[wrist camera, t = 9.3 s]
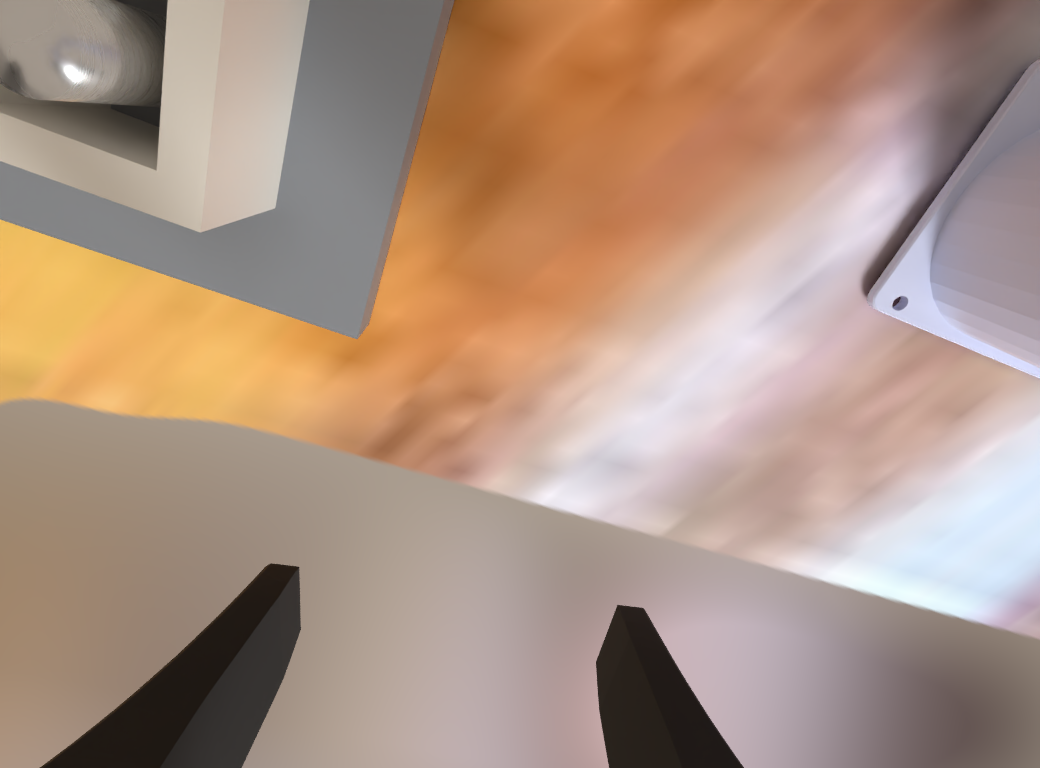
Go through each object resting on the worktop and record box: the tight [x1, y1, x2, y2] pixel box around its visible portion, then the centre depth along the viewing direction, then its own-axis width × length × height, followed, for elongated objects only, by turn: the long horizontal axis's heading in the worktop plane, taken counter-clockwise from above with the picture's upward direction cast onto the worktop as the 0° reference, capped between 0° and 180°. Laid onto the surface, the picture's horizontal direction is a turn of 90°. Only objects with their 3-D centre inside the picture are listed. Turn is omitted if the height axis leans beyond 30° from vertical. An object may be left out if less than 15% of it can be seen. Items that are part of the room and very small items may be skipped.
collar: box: [0, 0, 310, 233], centre depth 12 cm, size 6×6×4 cm
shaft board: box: [0, 0, 454, 339], centre depth 12 cm, size 14×12×6 cm
